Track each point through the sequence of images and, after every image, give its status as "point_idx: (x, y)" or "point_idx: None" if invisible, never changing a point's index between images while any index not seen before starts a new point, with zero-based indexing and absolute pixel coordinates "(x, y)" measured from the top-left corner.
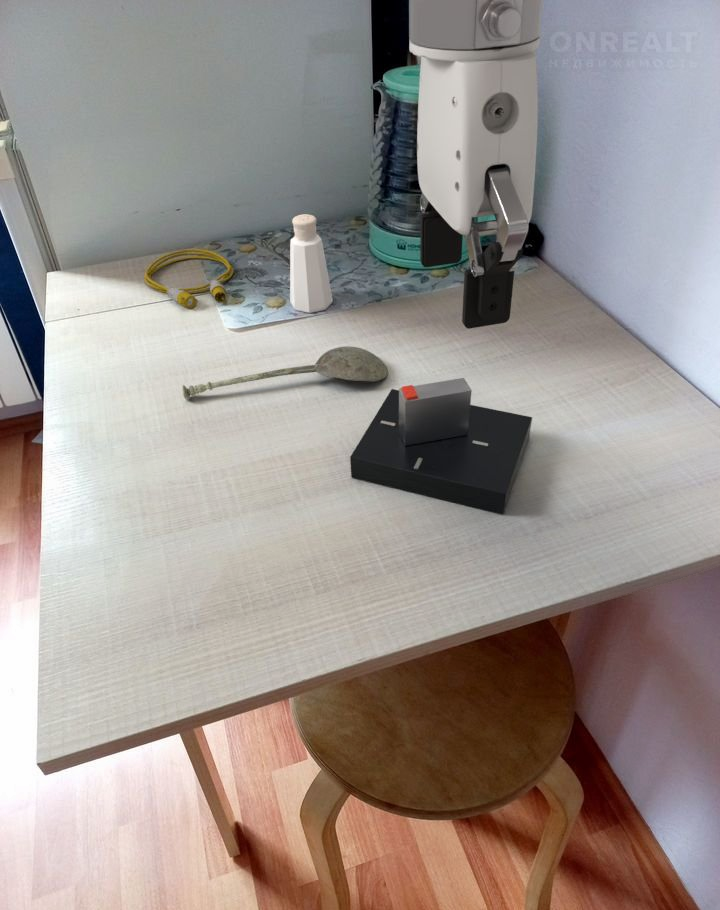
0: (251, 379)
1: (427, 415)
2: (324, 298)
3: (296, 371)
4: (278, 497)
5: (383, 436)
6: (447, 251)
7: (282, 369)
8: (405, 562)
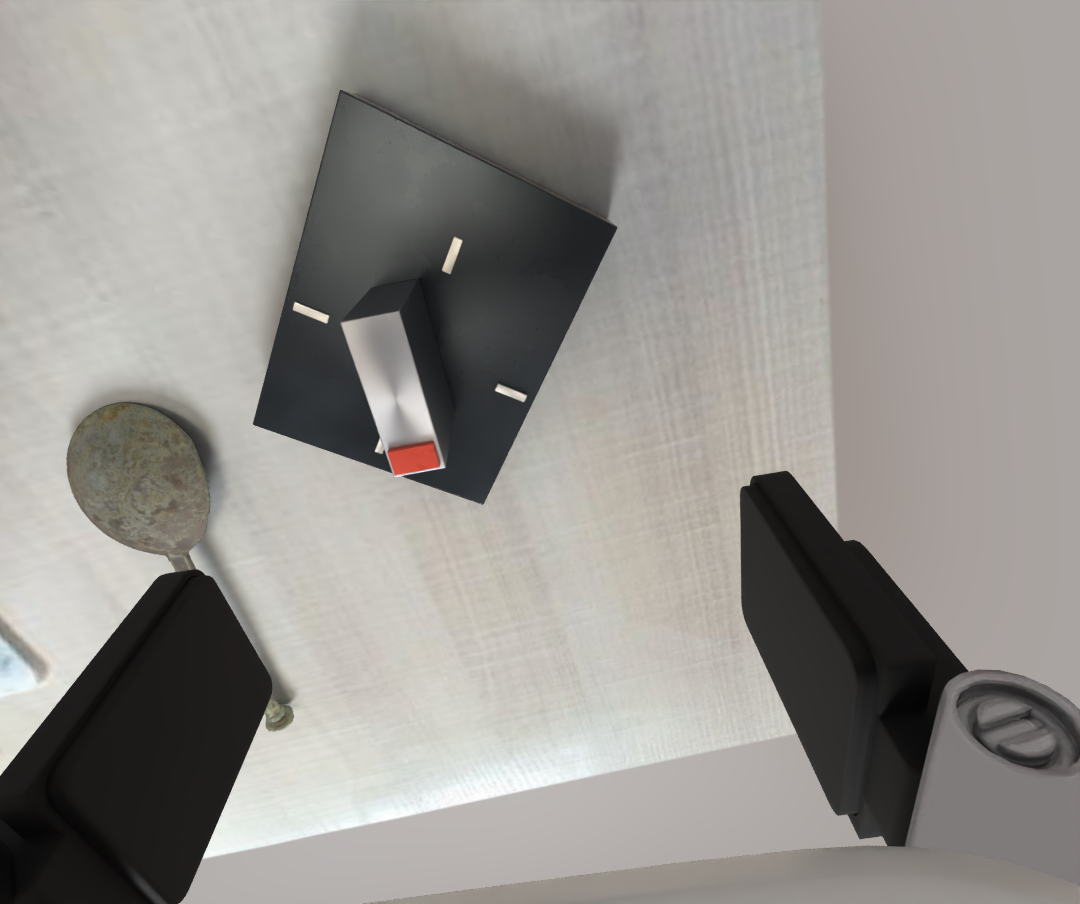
0: None
1: (436, 397)
2: None
3: None
4: (523, 575)
5: None
6: (209, 662)
7: None
8: (687, 405)
